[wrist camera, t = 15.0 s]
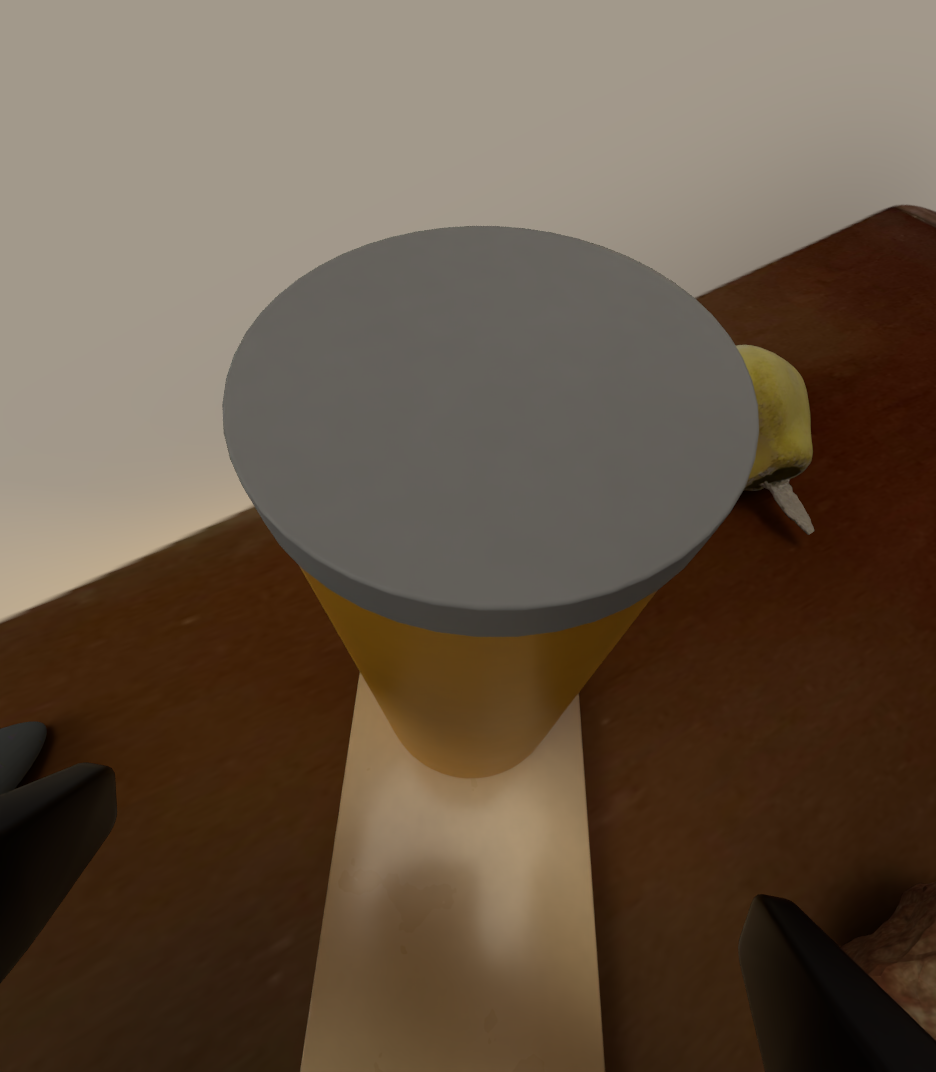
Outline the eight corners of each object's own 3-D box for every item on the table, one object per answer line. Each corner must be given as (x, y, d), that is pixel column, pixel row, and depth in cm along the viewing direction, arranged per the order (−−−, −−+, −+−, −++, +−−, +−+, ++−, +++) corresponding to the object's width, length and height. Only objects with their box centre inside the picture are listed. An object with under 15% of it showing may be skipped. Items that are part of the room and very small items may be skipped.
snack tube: (595, 709, 19) (878, 421, 6) (444, 825, 17) (395, 757, 4) (490, 575, 22) (535, 184, 9) (350, 661, 20) (148, 318, 7)
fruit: (746, 573, 23) (613, 409, 26) (807, 533, 26) (681, 391, 29) (870, 499, 18) (690, 310, 21) (925, 461, 22) (762, 302, 25)
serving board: (688, 2406, 7) (710, 2562, 7) (117, 2360, 8) (83, 2509, 7) (567, 576, 23) (570, 567, 22) (378, 568, 23) (376, 559, 22)
